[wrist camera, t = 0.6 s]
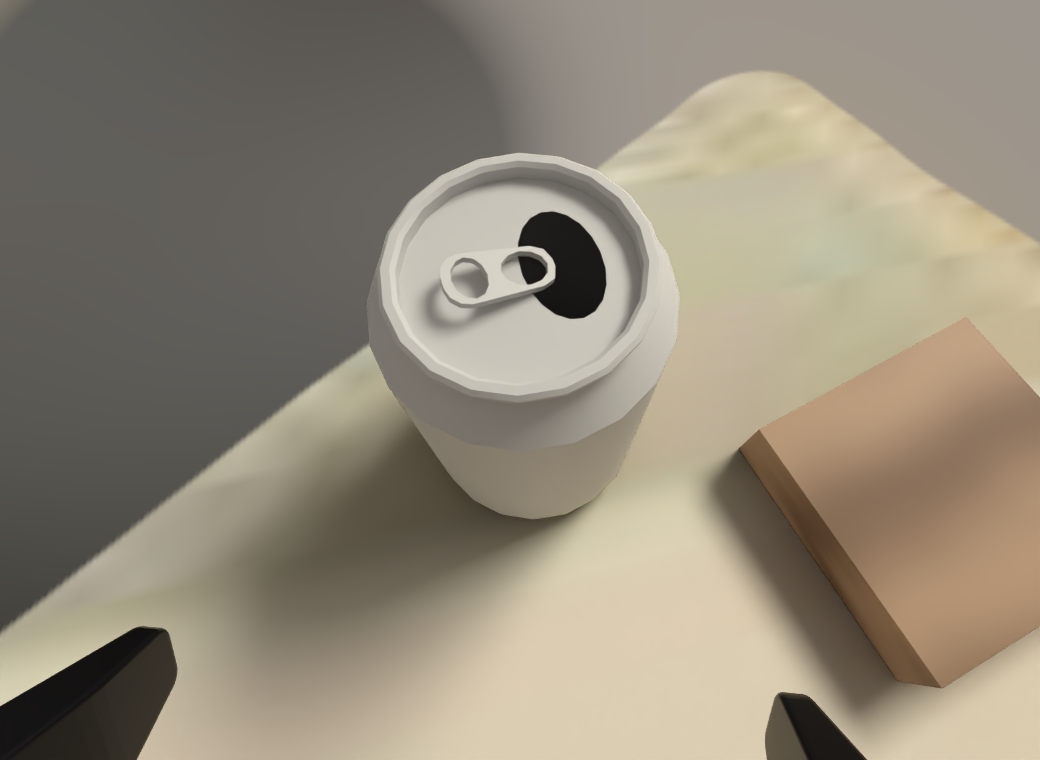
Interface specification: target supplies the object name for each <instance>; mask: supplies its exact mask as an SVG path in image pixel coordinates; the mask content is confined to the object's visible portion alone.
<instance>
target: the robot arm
mask: <svg viewBox="0 0 1040 760" xmlns="http://www.w3.org/2000/svg"><path fill="white" fill-rule="evenodd" d="M176 677H177V664H176V660H175V656H174V651H173V647H172V643H171V639H170V636H169V633H168V632H167V631H166V630H165V629H163V628H156V627H146V626H140V627H136V628H134V629H132V630H130V631H128V632H127V633H125V634H123V635H122V636H120V637H118V638H116V639H115V640H113V641H111V642H110V643H108V644H106V645H104V646H103V647H101V648H99V649H98V650H96V651H94V652H92V653H91V654H89V655H87V656H86V657H84V658H82V659H80V660H79V661H77V662H75V663H74V664H72V665H70V666H68V667H67V668H65V669H63V670H62V671H60V672H58V673H56V674H55V675H53V676H51V677H50V678H48V679H46V680H44V681H43V682H41V683H39V684H38V685H36V686H34V687H32V688H31V689H29V690H27V691H26V692H24V693H22V694H21V695H19V696H17V697H15V698H14V699H12V700H10V701H9V702H7V703H5V704H3V705H2V706H0V760H137V758H138V756H139V754H140V752H141V750H142V748H143V746H144V744H145V742H146V740H147V738H148V736H149V734H150V732H151V730H152V728H153V726H154V724H155V722H156V720H157V718H158V716H159V714H160V712H161V710H162V708H163V706H164V704H165V702H166V700H167V698H168V696H169V694H170V692H171V690H172V688H173V686H174V684H175V681H176ZM765 749H766V755H767V760H867V759H866V758H865V757H864V756H863V755H862V754H861V753H860V751H859V750H858V749H857V748H856V747H855V746H854V745H853V744H852V743H851V742H850V740H849V739H848V738H847V737H846V736H845V735H844V734H843V733H842V732H841V731H840V729H839V728H838V727H837V726H836V725H835V724H834V723H833V722H832V721H831V719H830V718H829V717H828V716H827V715H826V714H825V713H824V712H823V711H822V710H821V708H820V707H819V706H818V705H817V704H816V703H815V702H814V701H813V700H812V699H811V698H810V697H808V696H806V695H803V694H795V693H785V692H780V693H778V694H777V695H776V696H775V699H774V702H773V706H772V709H771V713H770V717H769V721H768V725H767V728H766V733H765Z"/></svg>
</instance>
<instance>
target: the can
mask: <svg viewBox="0 0 1040 760" xmlns="http://www.w3.org/2000/svg"><path fill="white" fill-rule="evenodd" d="M679 300H680V294H679V291H678V288H677V284H676V281H675V277H674V274H673V270H672V267H671V263H670V260H669V257H668V254H667V252H666V251H665V249H664V248H663V247H662V245H661V244H660V242H659V241H658V240H657V238H656V236H655V232H654V229H653V226H652V224H651V223H650V221H649V220H648V219H647V217H646V216H645V214H644V213H643V212H642V210H641V209H640V208H639V206H638V205H637V203H636V202H635V201H634V199H633V198H632V196H631V195H630V194H629V193H628V192H626V191H625V190H623V189H622V188H621V187H619V186H618V185H617V184H615V183H614V182H613V181H611V180H610V179H609V178H607V177H606V176H604V175H603V174H602V173H600V172H599V171H597V170H595V169H592V168H589V167H586V166H584V165H581V164H578V163H575V162H573V161H570V160H567V159H564V158H562V157H558V156H547V155H536V154H525V153H515V154H509V155H503V156H496V157H490V158H484V159H478V160H475V161H473V162H471V163H468V164H466V165H464V166H462V167H459V168H457V169H455V170H453V171H450V172H448V173H446V174H443V175H441V176H440V177H438V178H437V179H436V180H434V181H433V182H432V183H431V184H430V185H428V186H427V187H426V188H425V189H423V190H422V191H421V192H420V193H419V194H417V195H416V196H415V197H413V198H412V199H411V200H410V201H409V202H408V203H407V205H406V206H405V208H404V209H403V211H402V212H401V213H400V215H399V216H398V218H397V219H396V221H395V222H394V224H393V225H392V227H391V228H390V229H389V231H388V232H387V235H386V239H385V242H384V245H383V249H382V253H381V256H380V259H379V262H378V265H377V268H376V272H375V275H374V279H373V282H372V286H371V289H370V293H369V296H368V300H367V312H368V327H369V341H370V347H371V350H372V352H373V354H374V356H375V358H376V361H377V363H378V365H379V367H380V369H381V372H382V374H383V376H384V378H385V380H386V383H387V385H388V387H389V388H390V390H391V391H392V393H393V394H394V396H395V397H396V398H397V400H398V401H399V403H400V404H401V406H402V407H403V409H404V410H405V411H406V413H407V414H408V416H409V417H410V419H411V420H412V421H413V423H414V424H415V426H416V427H417V429H418V430H419V432H420V433H421V434H422V436H423V437H424V439H425V440H426V442H427V443H428V444H429V446H430V447H431V449H432V450H433V452H434V453H435V455H436V456H437V457H438V459H439V460H440V462H441V463H442V465H443V466H444V467H445V469H446V470H447V472H448V473H449V475H450V476H451V478H452V479H453V480H454V481H455V482H456V483H457V484H458V485H459V486H460V487H461V488H462V489H463V490H464V491H465V492H466V493H467V494H468V495H469V496H470V497H471V498H472V499H473V500H474V501H476V502H478V503H480V504H482V505H484V506H486V507H488V508H490V509H492V510H494V511H496V512H498V513H500V514H501V515H508V516H514V517H521V518H527V519H540V518H546V517H552V516H558V515H564V514H567V513H569V512H571V511H573V510H575V509H577V508H578V507H580V506H582V505H584V504H586V503H588V502H590V501H592V500H594V499H595V498H596V497H597V496H598V495H599V494H600V493H601V492H602V491H603V490H604V489H605V487H606V486H607V485H608V484H609V483H610V482H611V481H612V480H613V479H614V478H615V477H616V476H617V473H618V471H619V469H620V467H621V465H622V463H623V460H624V458H625V456H626V454H627V452H628V450H629V447H630V445H631V443H632V441H633V438H634V436H635V434H636V431H637V429H638V427H639V425H640V422H641V420H642V418H643V415H644V413H645V411H646V409H647V406H648V404H649V402H650V399H651V397H652V395H653V393H654V390H655V388H656V386H657V383H658V381H659V379H660V377H661V374H662V372H663V370H664V367H665V365H666V363H667V361H668V358H669V356H670V354H671V351H672V349H673V347H674V345H675V342H676V340H677V327H678V313H679Z"/></svg>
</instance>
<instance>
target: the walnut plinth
mask: <svg viewBox="0 0 1040 760" xmlns="http://www.w3.org/2000/svg"><path fill="white" fill-rule="evenodd" d="M739 450H740V451H741V453H742V454H743V456H744V457H745V458H746V460H747V461H748V463H749V464H750V466H751V467H752V469H753V470H754V472H755V473H756V475H757V476H758V477H759V479H760V480H761V482H762V483H763V485H764V486H765V488H766V489H767V491H768V492H769V494H770V495H771V496H772V498H773V499H774V501H775V502H776V504H777V505H778V507H779V508H780V510H781V511H782V513H783V514H784V516H785V517H786V518H787V520H788V521H789V523H790V524H791V526H792V527H793V529H794V530H795V532H796V533H797V535H798V536H799V537H800V539H801V540H802V542H803V543H804V545H805V546H806V548H807V549H808V551H809V552H810V554H811V555H812V557H813V558H814V559H815V561H816V562H817V564H818V565H819V567H820V568H821V570H822V571H823V573H824V574H825V576H826V577H827V578H828V580H829V581H830V583H831V584H832V586H833V587H834V589H835V590H836V592H837V593H838V595H839V596H840V598H841V599H842V600H843V602H844V603H845V605H846V606H847V608H848V609H849V611H850V612H851V614H852V615H853V617H854V618H855V619H856V621H857V622H858V624H859V625H860V627H861V628H862V630H863V631H864V633H865V634H866V636H867V637H868V639H869V640H870V641H871V643H872V644H873V646H874V647H875V649H876V650H877V652H878V653H879V655H880V656H881V658H882V659H883V660H884V662H885V663H886V665H887V666H888V668H889V669H890V671H891V672H892V674H893V675H894V677H895V678H896V679H897V681H901V682H907V683H912V684H918V685H924V686H930V687H936V688H944V687H945V686H947V685H948V684H950V683H951V682H953V681H955V680H956V679H958V678H959V677H961V676H962V675H964V674H965V673H967V672H969V671H970V670H972V669H973V668H975V667H976V666H978V665H980V664H981V663H983V662H984V661H986V660H987V659H989V658H991V657H992V656H994V655H995V654H997V653H998V652H1000V651H1002V650H1003V649H1005V648H1006V647H1008V646H1009V645H1011V644H1012V643H1014V642H1016V641H1017V640H1019V639H1020V638H1022V637H1023V636H1025V635H1027V634H1028V633H1030V632H1031V631H1033V630H1034V629H1036V628H1038V627H1039V626H1040V397H1039V396H1038V395H1037V394H1036V393H1035V392H1034V391H1033V389H1032V388H1031V387H1030V386H1029V385H1028V384H1027V383H1026V382H1025V381H1024V380H1023V379H1022V377H1021V376H1020V375H1019V374H1018V373H1017V372H1016V371H1015V370H1014V369H1013V368H1012V366H1011V365H1010V364H1009V363H1008V362H1007V361H1006V360H1005V359H1004V358H1003V357H1002V356H1001V354H1000V353H999V352H998V351H997V350H996V349H995V348H994V347H993V346H992V345H991V344H990V342H989V341H988V340H987V339H986V338H985V337H984V336H983V335H982V334H981V333H980V331H979V330H978V329H977V328H976V327H975V326H974V325H973V324H972V323H971V322H970V321H969V319H968V318H967V317H965V318H963V319H961V320H960V321H958V322H956V323H954V324H952V325H950V326H949V327H947V328H945V329H943V330H941V331H939V332H938V333H936V334H934V335H932V336H930V337H928V338H927V339H925V340H923V341H921V342H919V343H917V344H916V345H914V346H912V347H910V348H908V349H906V350H904V351H903V352H901V353H899V354H897V355H895V356H893V357H892V358H890V359H888V360H886V361H884V362H882V363H881V364H879V365H877V366H875V367H873V368H871V369H870V370H868V371H866V372H864V373H862V374H860V375H859V376H857V377H855V378H853V379H851V380H849V381H848V382H846V383H844V384H842V385H840V386H838V387H836V388H835V389H833V390H831V391H829V392H827V393H825V394H824V395H822V396H820V397H818V398H816V399H814V400H813V401H811V402H809V403H807V404H805V405H803V406H802V407H800V408H798V409H796V410H794V411H792V412H791V413H789V414H787V415H785V416H783V417H781V418H779V419H778V420H776V421H774V422H772V423H770V424H768V425H767V426H765V427H763V428H761V429H759V430H758V431H757V432H756V433H755V434H754V435H753V436H752V437H751V438H750V439H749V440H748V441H746V442H745V443H744V444H743V445H742V446H741V447H740V448H739Z"/></svg>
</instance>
